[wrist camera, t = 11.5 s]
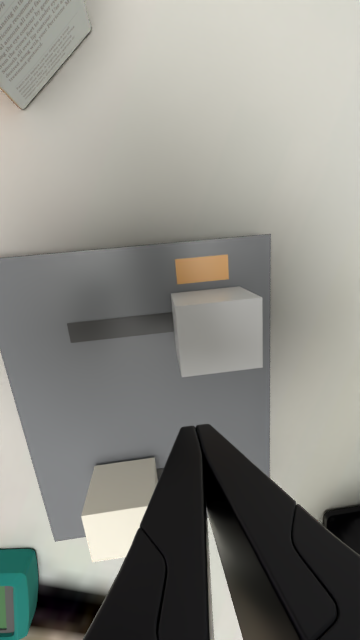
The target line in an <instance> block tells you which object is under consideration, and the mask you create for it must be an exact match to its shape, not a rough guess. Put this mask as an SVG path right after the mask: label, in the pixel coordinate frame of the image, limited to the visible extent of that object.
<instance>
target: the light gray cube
mask: <svg viewBox="0 0 360 640" xmlns="http://www.w3.org/2000/svg"><path fill="white" fill-rule="evenodd" d="M171 303H172V313H173V323H174V334H175V344H176V352H177V357H178V362H179V367H180V371H181V376H182V377H189V376H197V375H206V374H214V373H222V372H230V371H238V370H246V369H255V368H263V317H262V297H260V296H258V295H256V294H254V293H252V292H250V291H248V290H246V289H244V288H242V287H240V286H238V287H228V288H218V289H208V290H198V291H189V292H179V293H171Z"/></svg>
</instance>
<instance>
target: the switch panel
mask: <svg viewBox="0 0 360 640" xmlns="http://www.w3.org/2000/svg"><path fill="white" fill-rule="evenodd" d="M270 249H271V234H265V235H253V236H242V237H231V238H220V239H209V240H197V241H186V242H175V243H164V244H153V245H141V246H130V247H119V248H108V249H97V250H86V251H74V252H63V253H52V254H41V255H30V256H18V257H7V258H0V351H1V354H2V358H3V361H4V365H5V368H6V372H7V375H8V379H9V382H10V386H11V389H12V393H13V396H14V400H15V403H16V407H17V410H18V414H19V417H20V421H21V424H22V428H23V431H24V435H25V438H26V442H27V445H28V449H29V452H30V456H31V460H32V463H33V467H34V470H35V474H36V477H37V481H38V484H39V488H40V491H41V495H42V498H43V502H44V505H45V509H46V512H47V516H48V519H49V523H50V526H51V530H52V533H53V537H54V540H55V542H56V541H62V540H68V539H75V538H81V537H86V534H85V530H84V526H83V522H82V518H81V515H82V511H83V507H84V504H85V500H86V496H87V492H88V489H89V485H90V481H91V478H92V474H93V470H94V466H97V465H104V464H111V463H118V462H125V461H132V460H140V459H147V458H154V457H155V463H156V470H157V478H158V480H159V478H160V476H161V473H162V471H163V468H164V466H165V464H166V461H167V459H168V456H169V454H170V452H171V449H172V447H173V445H174V442H175V440H176V437H177V435H178V433H179V430H180V428H181V427H184V426H192V425H193V426H195V427H196V425H200V424H210V425H211V426H213V427H214V428H215V429H216V430H217V431H218V432H219V433H220V434H221V435H223V436H224V437H225V438H226V439H227V440H228V441H229V442H230V443H231V444H233V445H234V446H235V447H236V448H237V449H238V450H239V451H240V452H241V453H243V454H244V455H245V456H246V457H247V458H248V459H249V460H250V461H251V462H252V463H254V464H255V465H256V466H257V467H258V468H259V469H260V470H261V471H262V472H264V473H265V474H266V475H267V476H268V477H269V478H270ZM238 286H240V287H242V288H244V289H246V290H248V291H250V292H252V293H254V294H256V295H258V296H260V297H262V317H263V368H255V369H246V370H238V371H230V372H222V373H214V374H206V375H197V376H189V377H182V376H181V371H180V367H179V362H178V357H177V352H176V344H175V334H174V323H173V313H172V303H171V293H179V292H189V291H198V290H208V289H218V288H228V287H238ZM206 509H207V508H206ZM208 517H209V516H208V512H207V518H208Z"/></svg>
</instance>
